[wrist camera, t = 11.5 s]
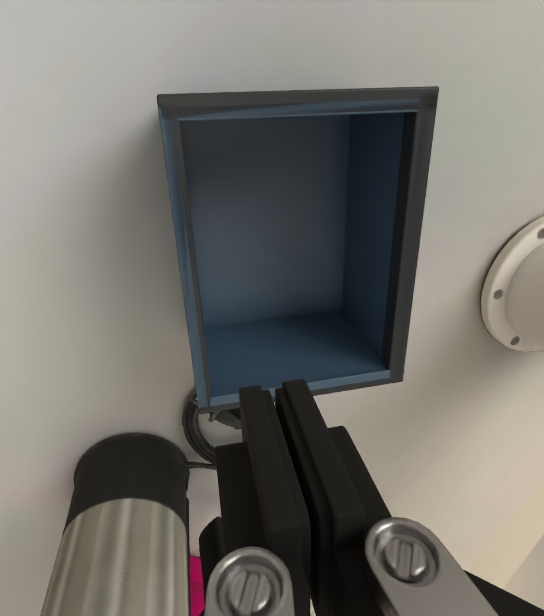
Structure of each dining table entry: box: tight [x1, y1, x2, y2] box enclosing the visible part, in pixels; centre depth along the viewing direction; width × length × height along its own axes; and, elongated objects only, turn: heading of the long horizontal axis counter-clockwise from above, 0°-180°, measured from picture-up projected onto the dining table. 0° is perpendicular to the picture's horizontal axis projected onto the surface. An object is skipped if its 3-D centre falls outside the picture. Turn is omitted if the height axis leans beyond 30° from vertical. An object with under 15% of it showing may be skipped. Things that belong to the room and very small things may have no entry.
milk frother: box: [40, 392, 242, 616], centre depth 28 cm, size 14×16×15 cm
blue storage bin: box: [157, 86, 439, 414], centre depth 25 cm, size 9×16×12 cm
